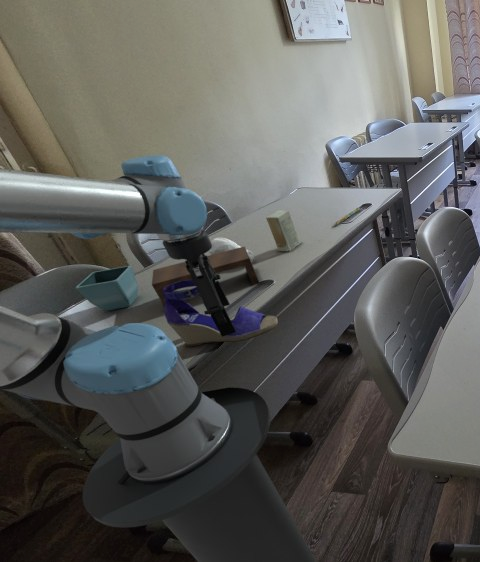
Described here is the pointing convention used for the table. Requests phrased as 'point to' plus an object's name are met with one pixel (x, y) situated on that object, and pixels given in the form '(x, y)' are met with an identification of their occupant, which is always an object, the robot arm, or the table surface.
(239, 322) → the sandal
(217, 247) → the white rounded piece
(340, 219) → the pencil
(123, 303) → the flower pot
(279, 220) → the cosmetic box
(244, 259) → the shoe shelf
